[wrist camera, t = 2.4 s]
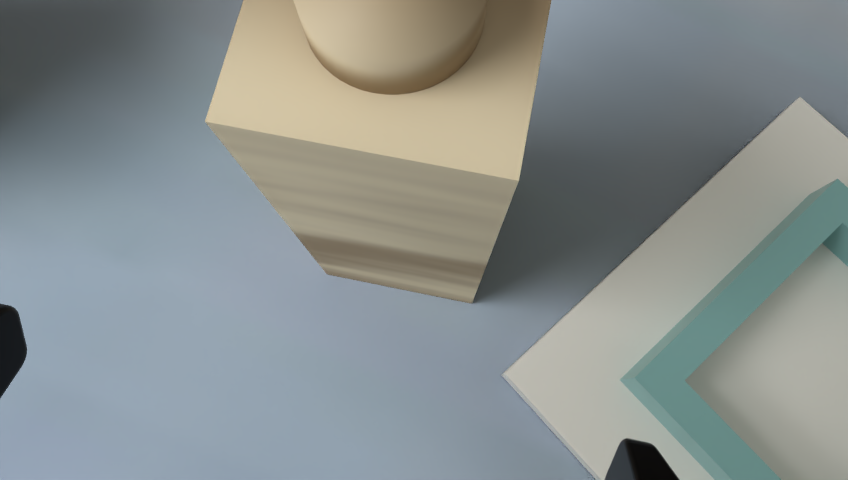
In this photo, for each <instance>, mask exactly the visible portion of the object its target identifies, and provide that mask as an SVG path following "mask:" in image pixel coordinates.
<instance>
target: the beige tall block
mask: <svg viewBox="0 0 848 480" xmlns="http://www.w3.org/2000/svg"><path fill="white" fill-rule="evenodd" d="M550 4H551V0H243V3H242V7H241V10H240V13H239V16H238V19H237V22H236V25H235V29H234V32H233V35H232V38H231V41H230V44H229V48H228V51H227V54H226V57H225V60H224V63H223V66H222V70H221V73H220V76H219V79H218V82H217V85H216V89H215V92H214V95H213V98H212V101H211V104H210V107H209V111H208V114H207V117H206V120H205V122H206V123H207V125H208V126H209V127H210V128H211V130H212V131H213V132H214V133H215V135H216V136H217V137H218V138H219V140H220V141H221V142H222V143H223V145H224V146H225V147H226V148H227V150H228V151H229V152H230V153H231V155H232V156H233V157H234V158H235V160H236V161H237V162H238V163H239V165H240V166H241V167H242V168H243V170H244V171H245V172H246V173H247V175H248V176H249V177H250V178H251V180H252V181H253V182H254V183H255V185H256V186H257V187H258V188H259V190H260V191H261V192H262V193H263V195H264V196H265V197H266V198H267V200H268V201H269V202H270V203H271V205H272V206H273V207H274V208H275V210H276V211H277V212H278V214H279V215H280V216H281V217H282V219H283V220H284V221H285V222H286V224H287V225H288V226H289V227H290V229H291V230H292V231H293V232H294V234H295V235H296V236H297V237H298V239H299V240H300V241H301V242H302V244H303V245H304V246H305V247H306V249H307V250H308V251H309V252H310V254H311V255H312V256H313V257H314V259H315V260H316V261H317V262H318V264H319V265H320V266H321V267H322V269H323V270H324V271H325V272H326V274H328V275H333V276H338V277H343V278H348V279H353V280H358V281H363V282H368V283H373V284H378V285H383V286H388V287H392V288H397V289H402V290H407V291H412V292H417V293H422V294H427V295H432V296H437V297H442V298H447V299H452V300H457V301H462V302H467V303H472V302H473V300H474V297H475V294H476V292H477V289H478V286H479V284H480V281H481V279H482V276H483V273H484V271H485V268H486V265H487V263H488V260H489V258H490V255H491V252H492V250H493V247H494V245H495V242H496V239H497V237H498V234H499V231H500V229H501V226H502V224H503V221H504V218H505V216H506V213H507V210H508V208H509V205H510V203H511V200H512V197H513V195H514V192H515V189H516V187H517V184H518V182H519V177H520V171H521V166H522V160H523V155H524V149H525V143H526V138H527V132H528V127H529V121H530V116H531V110H532V104H533V99H534V93H535V88H536V82H537V77H538V71H539V65H540V60H541V54H542V49H543V43H544V38H545V32H546V26H547V21H548V15H549V10H550Z"/></svg>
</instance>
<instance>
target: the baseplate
mask: <svg viewBox="0 0 848 480" xmlns="http://www.w3.org/2000/svg"><path fill="white" fill-rule="evenodd" d="M501 375H502V376H503V377H504V378H505V380H506V381H507V382H508V383H509V384H510V385H511V386H512V387H513V388H514V389H515V391H516V392H517V393H518V394H519V395H520V396H521V397H522V398H523V399H524V401H525V402H526V403H527V404H528V405H529V406H530V407H531V408H532V409H533V410H534V412H535V413H536V414H537V415H538V416H539V417H540V418H541V419H542V420H543V422H544V423H545V424H546V425H547V426H548V427H549V428H550V429H551V430H552V431H553V433H554V434H555V435H556V436H557V437H558V438H559V439H560V440H561V441H562V443H563V444H564V445H565V446H566V447H567V448H568V449H569V450H570V451H571V452H572V454H573V455H574V456H575V457H576V458H577V459H578V460H579V461H580V462H581V463H582V465H583V466H584V467H585V468H586V469H587V470H588V471H589V472H590V473H591V475H592V476H593V477H594V478H595V479H596V480H605V477H606V474H607V472H608V469H609V467H610V465H611V462H612V460H613V457H614V455H615V453H616V450H617V448H618V446H619V444H620V442H621V441H622V440H623V439H626V438H630V439H634V440H639V441H644V442H648V443H651V444H653V445H654V446H655V447H656V448H657V449H658V451H659V452H660V453H661V455H662V456H663V457H664V459H665V460H666V462H667V463H668V464H669V466H670V467H671V468H672V470H673V471H674V473H675V474H676V475H677V477H678V478H679V479H680V480H848V138H847V137H846V136H845V135H843V134H842V133H841V132H840V131H839V130H838V129H837V128H835V127H834V126H833V125H832V124H831V123H830V122H828V121H827V120H826V119H825V118H824V117H823V116H822V115H820V114H819V113H818V112H817V111H816V110H815V109H813V108H812V107H811V106H810V105H809V104H808V103H806V102H805V101H804V100H803V99H802V98H801V97H799V98H798V99H797V100H796V101H794V102H793V103H792V104H791V105H790V106H788V107H787V108H786V109H785V110H784V111H783V112H782V113H781V114H780V115H778V116H777V117H776V118H775V119H774V120H773V121H772V122H771V123H770V124H769V125H768V126H767V127H766V128H765V129H763V130H762V131H761V132H760V133H759V134H758V135H757V136H756V137H755V138H754V139H753V140H752V141H751V142H750V143H749V144H747V145H746V146H745V147H744V148H743V149H742V150H741V151H740V152H739V153H738V154H737V155H736V156H735V157H734V158H732V159H731V160H730V161H729V162H728V163H727V164H726V165H725V166H724V167H723V168H722V169H721V170H720V171H719V172H717V173H716V174H715V175H714V176H713V177H712V178H711V179H710V180H709V181H708V182H707V183H706V184H705V185H704V186H703V187H701V188H700V189H699V190H698V191H697V192H696V193H695V194H694V195H693V196H692V197H691V198H690V199H689V200H688V201H686V202H685V203H684V204H683V205H682V206H681V207H680V208H679V209H678V210H677V211H676V212H675V213H674V214H673V215H672V216H670V217H669V218H668V219H667V220H666V221H665V222H664V223H663V224H662V225H661V226H660V227H659V228H658V229H657V230H655V231H654V232H653V233H652V234H651V235H650V236H649V237H648V238H647V239H646V240H645V241H644V242H643V243H642V244H640V245H639V246H638V247H637V248H636V249H635V250H634V251H633V252H632V253H631V254H630V255H629V256H628V257H627V258H626V259H624V260H623V261H622V262H621V263H620V264H619V265H618V266H617V267H616V268H615V269H614V270H613V271H612V272H611V273H609V274H608V275H607V276H606V277H605V278H604V279H603V280H602V281H601V282H600V283H599V284H598V285H597V286H596V287H594V288H593V289H592V290H591V291H590V292H589V293H588V294H587V295H586V296H585V297H584V298H583V299H582V300H581V301H580V302H578V303H577V304H576V305H575V306H574V307H573V308H572V309H571V310H570V311H569V312H568V313H567V314H566V315H565V316H563V317H562V318H561V319H560V320H559V321H558V322H557V323H556V324H555V325H554V326H553V327H552V328H551V329H550V330H549V331H547V332H546V333H545V334H544V335H543V336H542V337H541V338H540V339H539V340H538V341H537V342H536V343H535V344H534V345H532V346H531V347H530V348H529V349H528V350H527V351H526V352H525V353H524V354H523V355H522V356H521V357H520V358H519V359H517V360H516V361H515V362H514V363H513V364H512V365H511V366H510V367H509V368H508V369H507V370H506V371H505V372H504V373H503V374H501Z"/></svg>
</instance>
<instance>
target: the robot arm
mask: <svg viewBox="0 0 848 480" xmlns="http://www.w3.org/2000/svg"><path fill="white" fill-rule="evenodd" d="M26 354H27V346H26V342H25V338H24V333H23V329H22V325H21V321H20V317H19V314H18V312H17V310H16V309H15V308H14V307H12V306H9V305H4V304H0V398H1V397H2V395H3V394H4V392H5V391H6V389H7V388H8V386H9V385H10V383H11V382H12V380H13V379H14V377H15V376H16V374H17V373H18V371H19V370H20V368H21V367H22V365H23V363H24V361H25V358H26ZM605 480H680V479H679V478H678V477H677V475H676V474H675V473H674V471H673V470H672V468H671V467H670V466H669V464H668V463H667V462H666V460H665V459H664V457H663V456H662V455H661V453H660V452H659V451H658V449H657V448H656V447H655V446H654V445H653V444H651V443H648V442H644V441H639V440H634V439H630V438H626V439H623V440H622V441H621V442H620V444H619V446H618V448H617V450H616V453H615V455H614V457H613V460H612V462H611V465H610V467H609V469H608V472H607V474H606V477H605Z"/></svg>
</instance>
